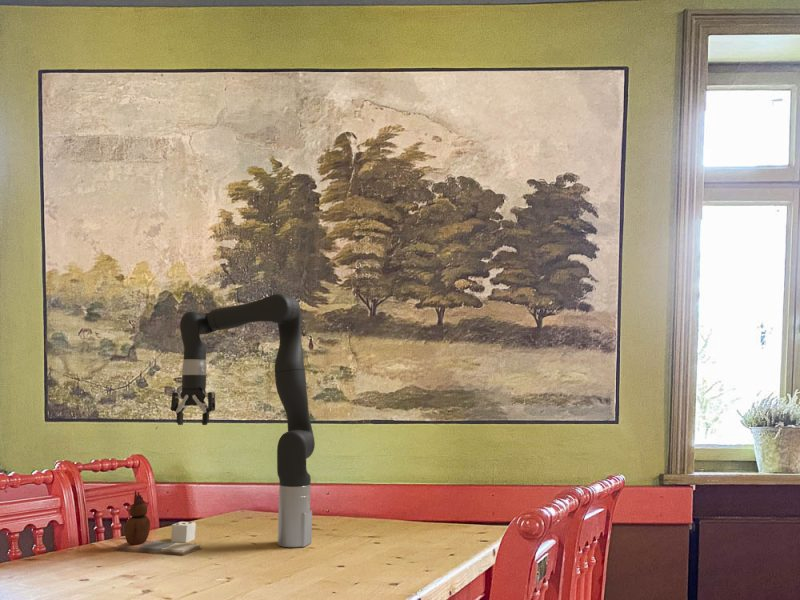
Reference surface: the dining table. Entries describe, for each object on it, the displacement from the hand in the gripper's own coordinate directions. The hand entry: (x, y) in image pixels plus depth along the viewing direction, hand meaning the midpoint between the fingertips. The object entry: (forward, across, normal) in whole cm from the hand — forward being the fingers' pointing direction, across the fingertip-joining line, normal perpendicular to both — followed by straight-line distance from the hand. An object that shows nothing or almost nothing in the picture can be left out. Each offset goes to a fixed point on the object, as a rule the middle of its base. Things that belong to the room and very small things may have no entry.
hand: (192, 424), depth 218 cm
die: (+34, -2, +7) cm, 35 cm away
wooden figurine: (+33, +6, +19) cm, 38 cm away
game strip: (+34, -1, +19) cm, 39 cm away
